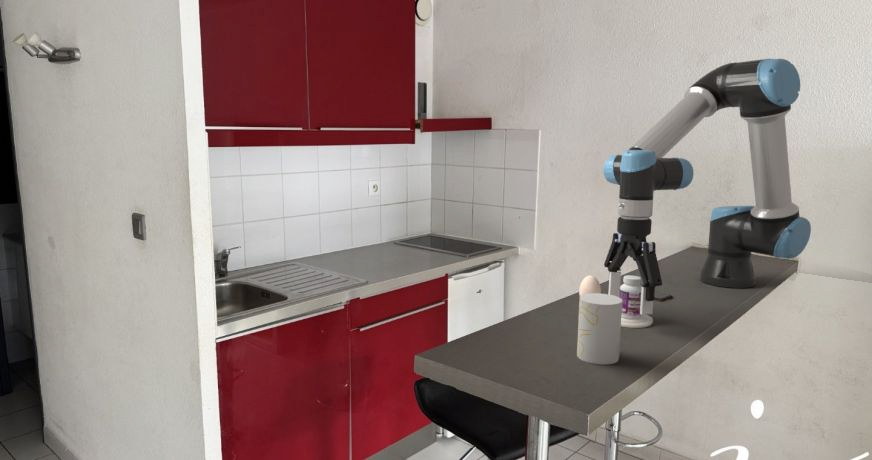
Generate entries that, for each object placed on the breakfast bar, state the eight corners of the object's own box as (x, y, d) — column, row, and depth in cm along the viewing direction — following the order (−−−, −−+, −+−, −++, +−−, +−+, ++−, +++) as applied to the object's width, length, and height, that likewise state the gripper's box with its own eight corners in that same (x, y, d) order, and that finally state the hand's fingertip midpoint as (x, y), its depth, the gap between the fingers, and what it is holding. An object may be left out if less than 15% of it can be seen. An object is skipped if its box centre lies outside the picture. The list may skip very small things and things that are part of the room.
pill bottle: (629, 321, 139) (632, 280, 138) (613, 314, 144) (615, 275, 142) (646, 317, 142) (649, 278, 140) (629, 311, 147) (632, 273, 145)
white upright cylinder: (571, 349, 124) (574, 293, 122) (609, 348, 125) (613, 292, 123) (584, 364, 116) (587, 305, 114) (625, 363, 117) (629, 304, 115)
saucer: (635, 312, 150) (635, 308, 150) (662, 326, 139) (662, 321, 139) (595, 315, 147) (596, 311, 147) (620, 329, 136) (620, 325, 136)
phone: (624, 284, 174) (674, 295, 163) (624, 288, 174) (673, 299, 163) (612, 288, 170) (662, 299, 159) (612, 292, 170) (661, 304, 159)
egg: (604, 306, 155) (606, 276, 153) (589, 309, 152) (591, 279, 151) (589, 301, 159) (590, 272, 158) (574, 304, 157) (575, 274, 155)
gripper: (593, 210, 150) (588, 292, 153) (652, 225, 126) (646, 322, 130) (619, 209, 152) (614, 290, 155) (683, 224, 128) (676, 320, 132)
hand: (629, 305), depth 142 cm, fingers open, 13 cm apart
